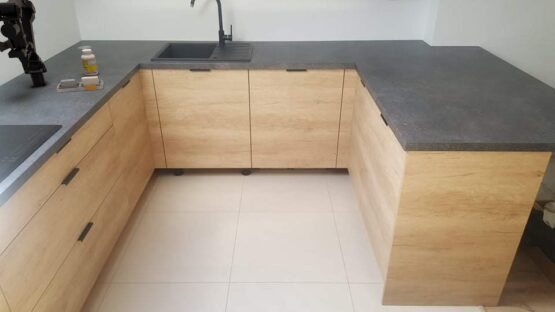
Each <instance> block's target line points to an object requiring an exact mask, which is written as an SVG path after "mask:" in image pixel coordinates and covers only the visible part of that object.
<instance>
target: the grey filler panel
mask: <svg viewBox="0 0 555 312" xmlns="http://www.w3.org/2000/svg"><path fill="white" fill-rule="evenodd" d="M76 82H77V81H76V79H75V78H72V79H71V78H70V79H61V80H60V83H61V86H62V87H73V86H77V85H76Z"/></svg>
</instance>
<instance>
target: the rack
mask: <svg viewBox="0 0 555 312" xmlns="http://www.w3.org/2000/svg"><path fill="white" fill-rule="evenodd" d="M98 80H99V84H97V85H85V86H83V83H82V81H76V85H77V86H73V87H62V86H61V82H60V83H58V84H57V86H56V93H57V94H60V93H69V92H70V93H71V92H83V91H96V90H103V89H104V80H103V79H98Z"/></svg>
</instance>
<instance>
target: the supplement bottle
mask: <svg viewBox="0 0 555 312" xmlns="http://www.w3.org/2000/svg"><path fill="white" fill-rule="evenodd" d="M81 53H82V55H81V57H80V59H81V62H82V67H83V71H84V75H85V76H87V77H93V76H97V75H98V73H99V70H98V69H99V68H98V64H97V61H96V60H97V59H96V56H95V54H93V51H92V49H91V48H84V49H82V50H81Z"/></svg>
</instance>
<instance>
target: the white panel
mask: <svg viewBox="0 0 555 312" xmlns="http://www.w3.org/2000/svg"><path fill="white" fill-rule="evenodd" d="M99 80H100V79H99V77H98V76H97V75H93V76H84V77H83V76H82V77H81V82H82V83H83V86H85V85H97V84H99Z"/></svg>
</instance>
